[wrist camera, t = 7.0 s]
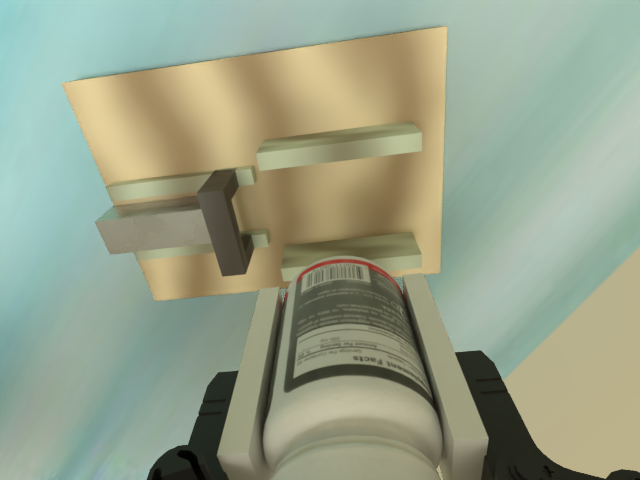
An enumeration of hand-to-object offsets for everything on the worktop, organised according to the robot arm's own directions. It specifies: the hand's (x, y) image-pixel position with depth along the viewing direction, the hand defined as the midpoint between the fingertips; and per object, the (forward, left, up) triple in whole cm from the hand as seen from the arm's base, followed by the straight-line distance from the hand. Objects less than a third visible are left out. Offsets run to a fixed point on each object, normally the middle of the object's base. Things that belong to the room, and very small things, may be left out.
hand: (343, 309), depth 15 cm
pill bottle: (0, 0, -1) cm, 1 cm away
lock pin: (-12, 0, -12) cm, 16 cm away
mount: (-4, +1, -13) cm, 14 cm away
